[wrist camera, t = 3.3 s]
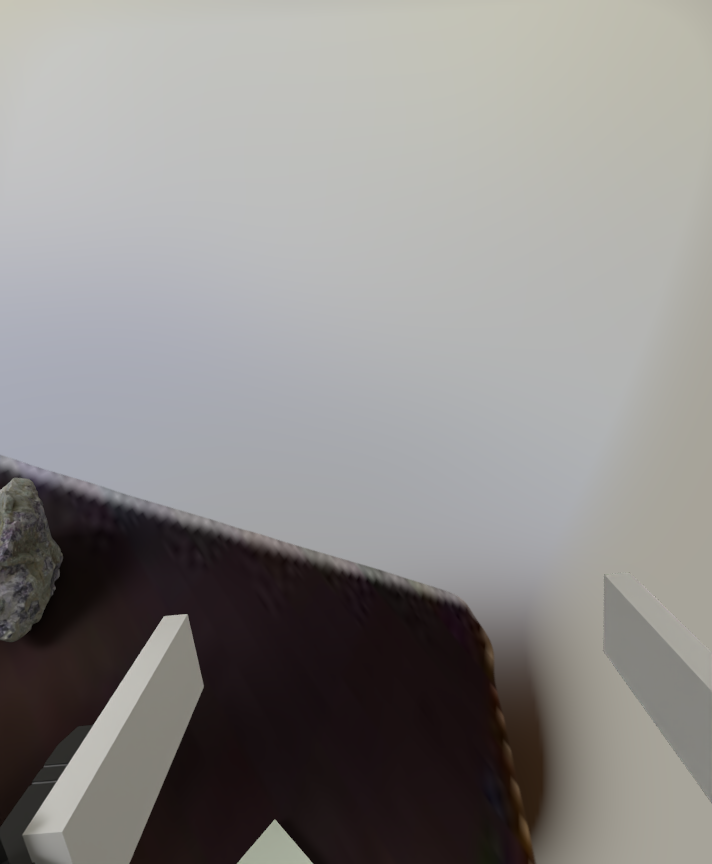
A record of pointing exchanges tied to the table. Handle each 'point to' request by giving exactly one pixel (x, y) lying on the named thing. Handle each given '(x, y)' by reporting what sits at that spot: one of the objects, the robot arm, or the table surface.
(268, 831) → the sage pad
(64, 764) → the robot arm
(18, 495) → the mineral rock
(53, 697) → the table surface
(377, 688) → the table surface
